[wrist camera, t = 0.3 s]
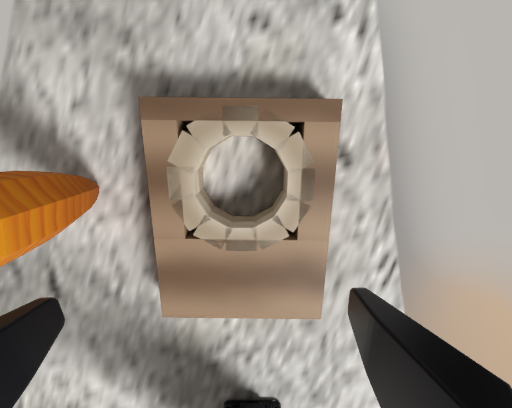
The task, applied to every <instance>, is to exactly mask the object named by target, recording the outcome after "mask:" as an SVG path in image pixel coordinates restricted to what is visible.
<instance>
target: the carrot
mask: <svg viewBox="0 0 512 408" xmlns="http://www.w3.org/2000/svg"><path fill="white" fill-rule="evenodd" d="M98 194H99V186H98V185H97V184H96V183H95V182H93V181H91V180H89V179H87V178H84V177H80V176H75V175H69V174H63V173H53V172H39V171H7V172H0V267H1V266H3V265H5V264H6V263H8V262H10V261H12V260H14V259H16V258H18V257H20V256H22V255H23V254H25V253H27V252H29V251H31V250H32V249H34V248H36V247H38V246H39V245H41V244H43V243H45V242H46V241H48V240H50V239H51V238H53V237H54V236H55V235H57V234H58V233H60V232H61V231H62V230H64V229H65V228H66V227H68V226H69V225H70V224H71V223H73V222H74V221H75V220H76V219H78V218H79V217H80V216H81V215H83V214H84V213H85V212H86V211H87V210H89V209H90V208H91V207H92V206H93V204H94V203H95V201H96V200H97V197H98Z"/></svg>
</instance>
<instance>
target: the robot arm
mask: <svg viewBox="0 0 512 408" xmlns="http://www.w3.org/2000/svg"><path fill="white" fill-rule="evenodd" d="M348 316H349V320H350V323H351V326H352V329H353V332H354V336H355V339H356V342H357V345H358V349H359V352H360V355H361V358H362V361H363V364H364V367H365V370H366V373H367V376H368V378H369V381H370V383H371V386H372V388H373V390H374V393H375V395H376V397H377V400H378V402H379V405H380V407H381V408H512V388H511V387H510V385H509V384H507V383H506V382H505V381H503V380H502V379H500V378H499V377H497V376H496V375H494V374H493V373H491V372H490V371H488V370H487V369H485V368H484V367H482V366H481V365H479V364H478V363H476V362H475V361H473V360H472V359H470V358H469V357H468V356H466V355H465V354H463V353H461V352H460V351H459V350H457V349H456V348H454V347H453V346H451V345H450V344H448V343H447V342H445V341H444V340H442V339H441V338H439V337H438V336H436V335H435V334H433V333H432V332H430V331H429V330H427V329H426V328H424V327H423V326H422V325H420V324H418V323H417V322H416V321H414V320H413V319H411V318H410V317H408V316H407V315H405V314H404V313H402V312H401V311H399V310H398V309H396V308H395V307H393V306H392V305H390V304H389V303H387V302H386V301H384V300H383V299H381V298H380V297H378V296H377V295H376V294H374V293H373V292H371V291H370V290H368V289H366V288H352V289H351V290H350V295H349V304H348ZM64 323H65V317H64V315H63V312H62V310H61V307H60V304H59V302H58V300H57V299H56V298H53V297H49V298H39V299H36V300H34V301H32V302H30V303H28V304H26V305H23V306H21V307H19V308H17V309H15V310H13V311H11V312H8V313H6V314H4V315H2V316H0V408H13V406H14V405H15V403H16V402H17V401H18V399H19V398H20V396H21V395H22V393H23V392H24V390H25V389H26V387H27V386H28V384H29V383H30V381H31V380H32V378H33V377H34V375H35V373H36V372H37V370H38V368H39V367H40V365H41V363H42V362H43V360H44V358H45V357H46V355H47V353H48V351H49V350H50V348H51V346H52V345H53V343H54V341H55V340H56V338H57V336H58V335H59V333H60V331H61V329H62V328H63V326H64ZM224 408H281V404H280V403H279V402H277V401H226V402H225V403H224Z"/></svg>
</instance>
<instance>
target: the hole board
mask: <svg viewBox="0 0 512 408" xmlns="http://www.w3.org/2000/svg"><path fill="white" fill-rule="evenodd" d="M138 98H139V107H140V117H141V126H142V135H143V144H144V153H145V162H146V171H147V180H148V190H149V199H150V208H151V217H152V226H153V235H154V244H155V254H156V263H157V272H158V281H159V290H160V299H161V308H162V317H184V318H263V319H321V314H322V303H323V293H324V283H325V273H326V263H327V253H328V243H329V232H330V222H331V212H332V202H333V192H334V182H335V172H336V161H337V151H338V141H339V131H340V121H341V111H342V101H343V99H298V98H208V97H138ZM188 123H190V124H188ZM291 124H298V128H297V132H293V133H292V131H293V129H294V128H295V127H294V126H293V125H291ZM231 136H255V137H256V138H258V139H259V140H261V141H263V142H264V143H266V144H268V145H269V146H271V147H272V148H274V150H275V152H276V154H277V156H278V158H279V160H280V161H281V163H282V165H283V167H284V174H283V190H282V191H281V193H280V194H279V196H278V197H277V199H276V201H275V202H274V204H273V205H272V207H270V208H268V209H266V210H264V211H262V212H261V213H259V214H257V215H255V216H232V215H230V214H229V213H227V212H225V211H223V210H221V209H220V208H218V207H216V206H215V205H214V204H213V202H212V201H211V199H210V197H209V196H208V194H207V193H206V191H205V190H204V187H203V165H204V163H205V161H206V159H207V157H208V155H209V153H210V152H211V150H212V148H213V147H214V146H216V145H218V144H219V143H221V142H223V141H224V140H226V139H228V138H229V137H231Z"/></svg>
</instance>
